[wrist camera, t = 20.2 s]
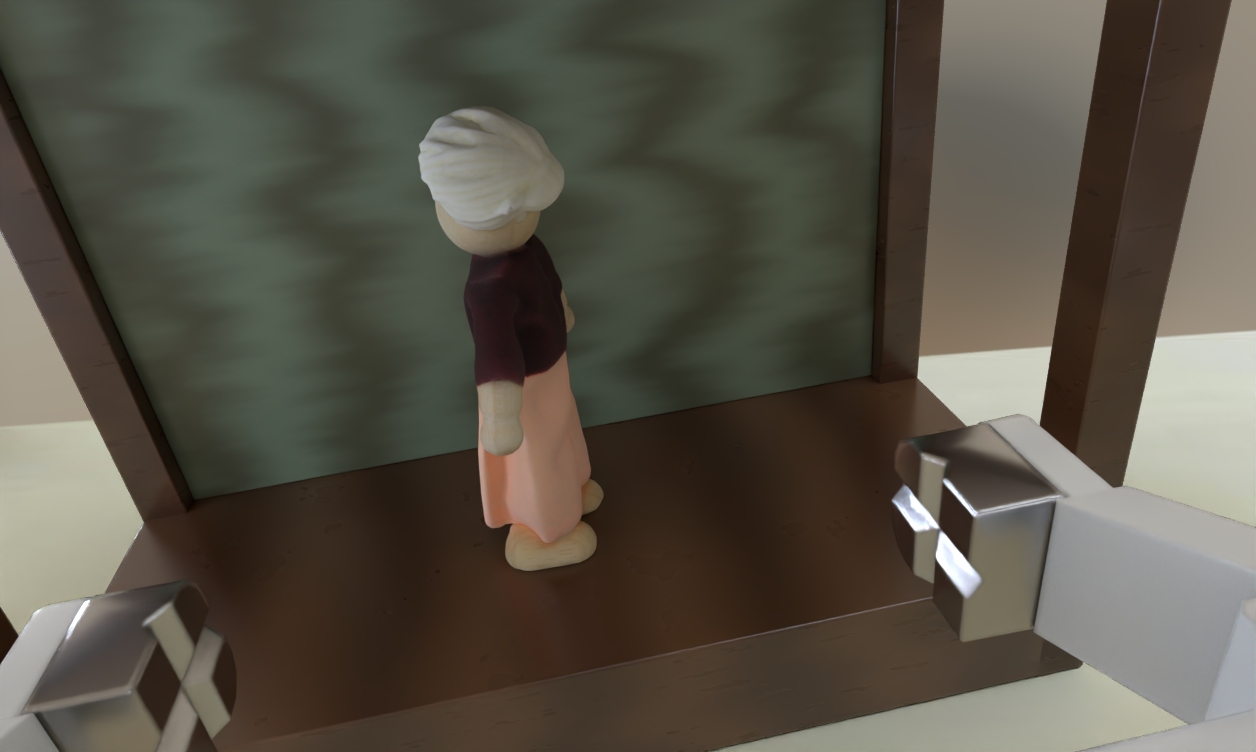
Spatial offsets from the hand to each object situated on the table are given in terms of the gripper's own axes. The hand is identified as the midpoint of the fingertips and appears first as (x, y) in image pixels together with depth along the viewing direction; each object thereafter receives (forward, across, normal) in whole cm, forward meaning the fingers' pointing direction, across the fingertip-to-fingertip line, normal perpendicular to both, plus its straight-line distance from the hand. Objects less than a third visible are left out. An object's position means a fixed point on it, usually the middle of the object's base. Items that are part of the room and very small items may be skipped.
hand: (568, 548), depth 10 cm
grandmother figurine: (+13, +1, +10) cm, 16 cm away
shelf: (+13, 0, +14) cm, 19 cm away
